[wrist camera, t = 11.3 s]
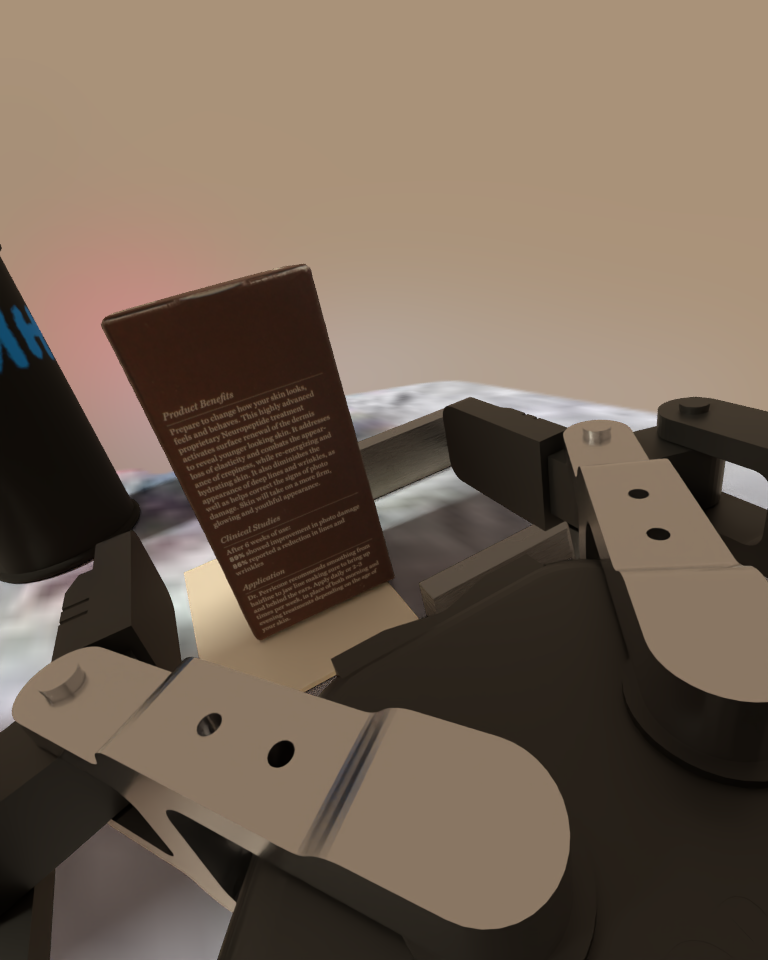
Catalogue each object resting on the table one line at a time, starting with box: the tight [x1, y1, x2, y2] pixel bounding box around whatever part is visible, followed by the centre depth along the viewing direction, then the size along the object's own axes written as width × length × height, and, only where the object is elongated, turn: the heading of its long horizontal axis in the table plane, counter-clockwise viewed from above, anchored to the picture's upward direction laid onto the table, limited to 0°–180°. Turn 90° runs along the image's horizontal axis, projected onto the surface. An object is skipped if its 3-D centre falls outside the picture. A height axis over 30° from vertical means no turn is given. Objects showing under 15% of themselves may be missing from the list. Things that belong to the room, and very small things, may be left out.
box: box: [101, 264, 395, 641], centre depth 18 cm, size 6×4×12 cm
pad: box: [184, 559, 419, 692], centre depth 20 cm, size 8×10×1 cm
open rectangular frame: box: [358, 409, 572, 616], centre depth 22 cm, size 9×11×3 cm
